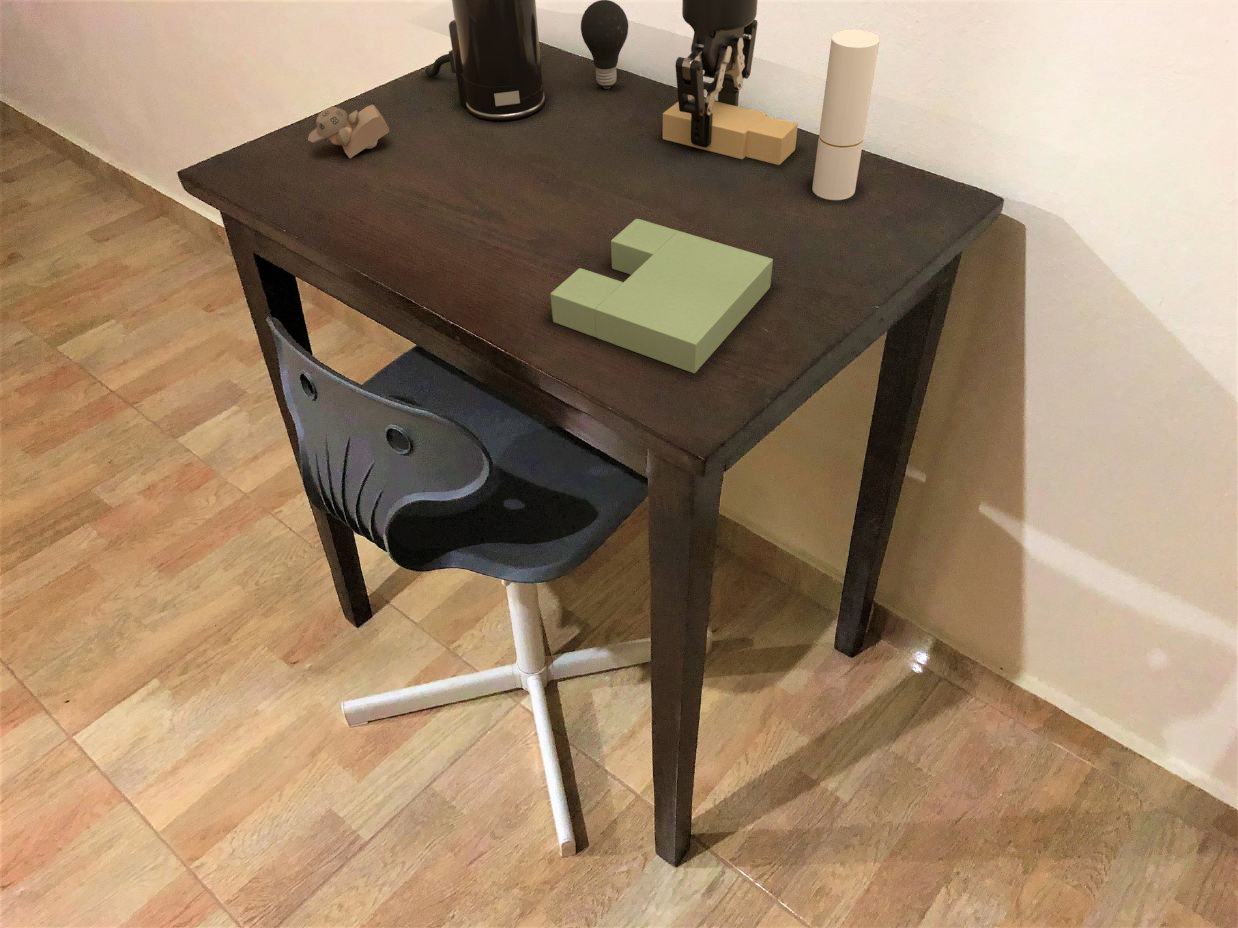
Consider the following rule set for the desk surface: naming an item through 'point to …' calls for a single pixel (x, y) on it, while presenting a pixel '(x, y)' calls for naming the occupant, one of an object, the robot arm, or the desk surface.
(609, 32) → the light bulb
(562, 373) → the desk surface
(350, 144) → the toy character
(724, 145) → the loose pad
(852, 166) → the tube
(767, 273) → the base pad
